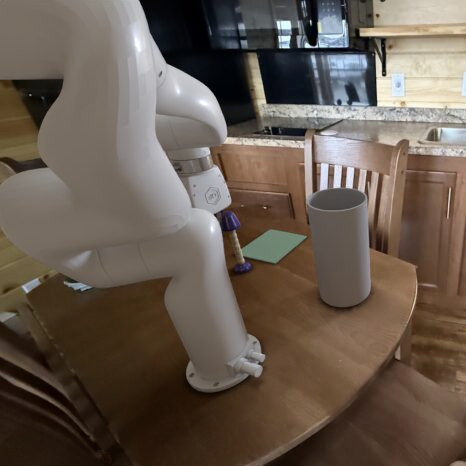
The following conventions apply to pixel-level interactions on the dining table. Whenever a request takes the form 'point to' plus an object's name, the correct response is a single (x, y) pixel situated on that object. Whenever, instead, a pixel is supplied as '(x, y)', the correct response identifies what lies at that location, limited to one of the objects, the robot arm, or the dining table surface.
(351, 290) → the cylinder vase
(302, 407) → the dining table surface
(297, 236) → the mat
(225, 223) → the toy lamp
